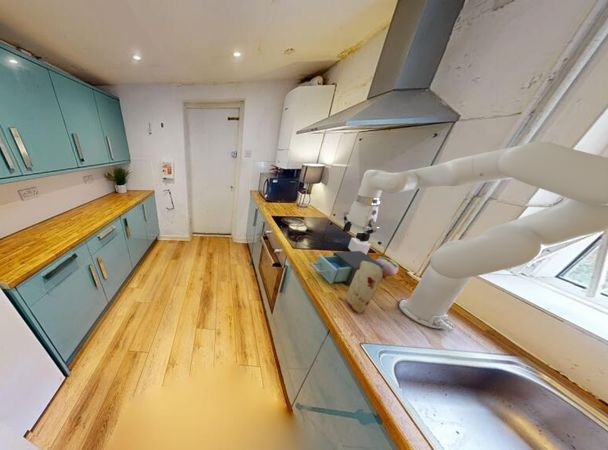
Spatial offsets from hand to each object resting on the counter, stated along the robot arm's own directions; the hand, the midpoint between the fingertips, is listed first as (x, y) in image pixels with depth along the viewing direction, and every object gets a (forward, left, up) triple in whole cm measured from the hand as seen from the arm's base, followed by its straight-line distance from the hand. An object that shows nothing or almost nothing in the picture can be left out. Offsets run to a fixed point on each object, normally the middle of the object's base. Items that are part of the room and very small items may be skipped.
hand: (354, 236), depth 90 cm
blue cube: (-3, +8, -18) cm, 20 cm away
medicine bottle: (+17, -24, -20) cm, 36 cm away
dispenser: (-3, -3, -20) cm, 21 cm away
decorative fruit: (-4, -19, -20) cm, 28 cm away
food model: (-21, +11, -20) cm, 31 cm away
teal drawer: (-3, +9, -19) cm, 21 cm away
